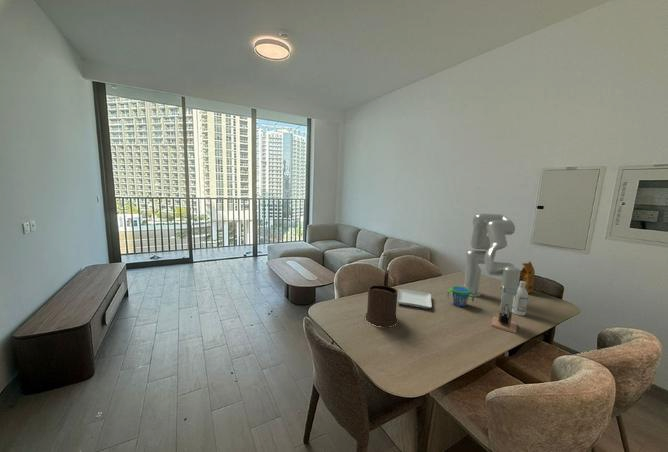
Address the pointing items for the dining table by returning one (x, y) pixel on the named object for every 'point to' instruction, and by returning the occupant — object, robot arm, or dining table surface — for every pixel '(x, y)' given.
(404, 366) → the dining table surface
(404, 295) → the salad plate
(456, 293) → the snack cup
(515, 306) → the bath foam
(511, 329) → the terracotta tile
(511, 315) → the walnut cube
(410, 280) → the dining table surface
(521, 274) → the orange cat figurine
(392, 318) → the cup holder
